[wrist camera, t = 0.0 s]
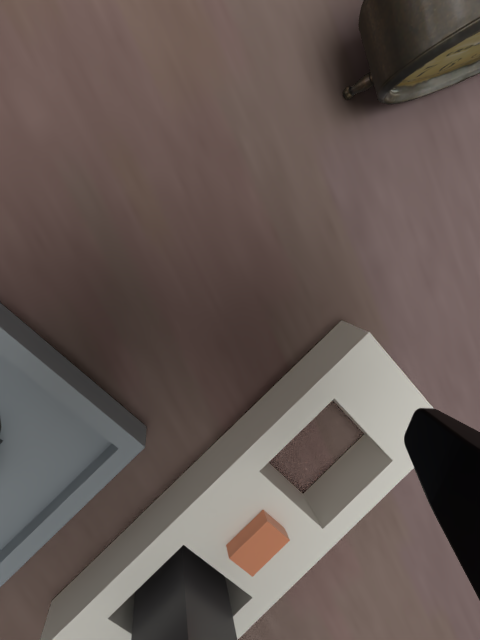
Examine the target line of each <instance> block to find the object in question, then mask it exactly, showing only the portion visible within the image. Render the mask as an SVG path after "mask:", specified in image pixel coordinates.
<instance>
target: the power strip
mask: <svg viewBox="0 0 480 640" xmlns="http://www.w3.org/2000/svg"><path fill="white" fill-rule="evenodd" d="M332 400H333V401H334V402H335V403H336V404H337V405H338V407H339V408H340V409H341V410H342V411H343V412H344V413H345V414H346V415H347V416H348V417H349V418H350V419H351V420H352V421H353V422H354V424H355V425H356V426H357V427H358V428H359V429H360V430H361V431H362V432H363V433H364V435H363V436H362V437H361V438H360V439H359V440H358V441H357V442H356V443H355V444H354V445H353V446H352V447H351V448H350V449H348V450H347V451H346V452H345V453H344V454H343V455H342V456H341V457H340V458H339V459H338V460H337V461H336V462H335V463H334V464H333V465H332V466H331V467H330V468H329V469H328V470H327V471H326V472H325V473H324V474H323V475H322V476H321V477H320V478H319V479H318V480H317V481H316V482H315V483H314V484H312V485H311V486H310V487H309V488H308V489H307V490H306V491H305V492H304V493H302V492H300V491H299V490H298V489H297V488H296V487H295V486H294V485H293V484H292V483H291V482H290V481H288V480H287V479H286V478H285V477H284V476H283V475H282V474H281V473H280V472H279V471H278V470H277V469H275V468H274V467H273V466H272V465H271V464H270V463H269V461H270V460H271V459H272V458H273V457H275V456H276V455H277V454H278V453H279V452H280V451H281V450H282V449H283V448H284V447H285V446H286V445H287V444H288V443H289V442H290V441H291V440H292V439H293V438H294V437H295V436H296V435H297V434H298V433H299V432H300V431H301V430H302V429H303V428H304V427H305V426H306V425H308V424H309V423H310V422H311V421H312V420H313V419H314V418H315V417H316V416H317V415H318V414H319V413H320V412H321V411H322V410H323V409H324V408H325V407H326V406H327V405H328V404H329V403H330V402H331V401H332ZM419 408H433V407H432V406H431V405H430V404H429V402H428V401H427V400H426V399H425V398H424V397H423V395H422V394H421V393H420V392H419V391H418V389H417V388H416V387H415V386H414V385H413V383H412V382H411V381H410V380H409V379H408V377H407V376H406V375H405V374H404V373H403V372H402V370H401V369H400V368H399V367H398V366H397V364H396V363H395V362H394V361H393V360H392V358H391V357H390V356H389V355H388V354H387V352H386V351H385V350H384V349H383V348H382V347H381V345H380V344H379V343H378V342H377V341H376V339H375V338H374V337H373V336H372V335H371V333H370V332H368V331H366V330H363V329H361V328H359V327H356V326H354V325H352V324H349V323H347V322H345V321H342V320H341V321H340V322H339V323H338V324H337V325H336V326H335V327H334V328H333V329H332V330H331V331H330V332H329V333H328V334H327V335H326V336H325V337H324V338H323V339H322V340H321V341H320V342H319V343H318V344H317V345H315V346H314V347H313V348H312V349H311V350H310V351H309V352H308V353H307V354H306V355H305V356H304V357H303V358H302V359H301V360H300V361H299V362H298V363H297V364H296V365H295V366H294V367H293V368H292V369H291V370H290V371H289V372H288V373H287V374H286V375H284V376H283V377H282V378H281V379H280V380H279V381H278V382H277V383H276V384H275V385H274V386H273V387H272V388H271V389H270V390H269V391H268V392H267V393H266V394H265V395H264V396H263V397H262V398H261V399H260V400H259V401H258V402H257V403H256V404H255V405H254V406H252V407H251V408H250V409H249V410H248V411H247V412H246V413H245V414H244V415H243V416H242V417H241V418H240V419H239V420H238V421H237V422H236V423H235V424H234V425H233V426H232V427H231V428H230V429H229V430H228V431H227V432H226V433H225V434H224V435H223V436H221V437H220V438H219V439H218V440H217V441H216V442H215V443H214V444H213V445H212V446H211V447H210V448H209V449H208V450H207V451H206V452H205V453H204V454H203V455H202V456H201V457H200V458H199V459H198V460H197V461H196V462H195V463H194V464H193V465H192V466H190V467H189V468H188V469H187V470H186V471H185V472H184V473H183V474H182V475H181V476H180V477H179V478H178V479H177V480H176V481H175V482H174V483H173V484H172V485H171V486H170V487H169V488H168V489H167V490H166V491H165V492H164V493H163V494H162V495H161V496H159V497H158V498H157V499H156V500H155V501H154V502H153V503H152V504H151V505H150V506H149V507H148V508H147V509H146V510H145V511H144V512H143V513H142V514H141V515H140V516H139V517H138V518H137V519H136V520H135V521H134V522H133V523H132V524H131V525H130V526H129V527H127V528H126V529H125V530H124V531H123V532H122V533H121V534H120V535H119V536H118V537H117V538H116V539H115V540H114V541H113V542H112V543H111V544H110V545H109V546H108V547H107V548H106V549H105V550H104V551H103V552H102V553H101V554H100V555H99V556H98V557H96V558H95V559H94V560H93V561H92V562H91V563H90V564H89V565H88V566H87V567H86V568H85V569H84V570H83V571H82V572H81V573H80V574H79V575H78V576H77V577H76V578H75V579H74V580H73V581H72V582H71V583H70V584H69V585H68V586H67V587H65V588H64V589H63V590H62V591H61V592H60V593H59V594H58V595H57V596H56V597H55V598H54V599H53V600H52V602H51V605H50V608H49V612H48V615H47V618H46V622H45V625H44V628H43V632H42V635H41V638H40V640H131V637H132V623H133V609H134V596H135V591H136V590H137V589H139V588H140V587H141V586H142V585H143V584H144V583H145V582H146V581H147V580H148V579H149V578H150V577H151V576H152V575H153V574H154V573H155V572H156V571H157V570H158V569H159V568H160V567H161V566H162V565H163V564H164V563H165V562H166V561H167V560H168V559H169V558H170V557H171V556H173V555H174V554H175V553H176V552H177V551H178V550H179V549H180V548H181V547H182V546H183V545H184V546H186V547H187V548H188V549H190V550H191V551H192V552H194V553H195V554H196V555H197V556H199V557H200V558H201V559H203V560H204V561H205V562H207V563H208V564H209V565H211V566H212V567H213V568H215V569H216V570H217V571H218V572H220V573H221V574H222V575H224V576H225V579H226V584H227V589H228V594H229V599H230V604H231V610H232V615H233V620H234V625H235V630H236V635H237V640H238V639H239V638H240V637H241V636H242V635H243V634H244V633H245V632H246V631H247V630H248V629H249V628H250V627H251V626H252V625H253V624H254V623H255V622H256V621H257V620H258V619H259V618H260V617H261V616H262V615H263V614H264V613H265V612H266V611H267V610H269V609H270V608H271V607H272V606H273V605H274V604H275V603H276V602H277V601H278V600H279V599H280V598H281V597H282V596H283V595H284V594H285V593H286V592H287V591H288V590H289V589H290V588H291V587H292V586H293V585H294V584H295V583H296V582H297V581H298V580H299V579H300V578H301V577H302V576H303V575H304V574H305V573H306V572H307V571H308V570H310V569H311V568H312V567H313V566H314V565H315V564H316V563H317V562H318V561H319V560H320V559H321V558H322V557H323V556H324V555H325V554H326V553H327V552H328V551H329V550H330V549H331V548H332V547H333V546H334V545H335V544H336V543H337V542H338V541H339V540H340V539H341V538H342V537H343V536H344V535H345V534H346V533H347V532H348V531H350V530H351V529H352V528H353V527H354V526H355V525H356V524H357V523H358V522H359V521H360V520H361V519H362V518H363V517H364V516H365V515H366V514H367V513H368V512H369V511H370V510H371V509H372V508H373V507H374V506H375V505H376V504H377V503H378V502H379V501H380V500H381V499H382V498H383V497H384V496H385V495H386V494H387V493H388V492H389V491H391V490H392V489H393V488H394V487H395V486H396V485H397V484H398V483H399V482H400V481H401V480H402V479H403V478H404V477H405V476H406V475H407V474H408V473H409V472H410V471H411V470H412V469H413V468H414V466H413V464H412V461H411V459H410V456H409V454H408V452H407V449H406V447H405V443H404V435H405V432H406V430H407V428H408V425H409V423H410V421H411V418H412V416H413V414H414V412H415V411H416V410H417V409H419ZM433 409H434V408H433Z"/></svg>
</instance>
